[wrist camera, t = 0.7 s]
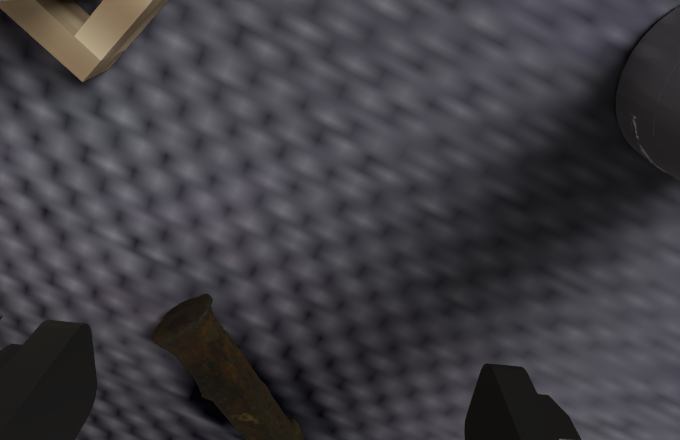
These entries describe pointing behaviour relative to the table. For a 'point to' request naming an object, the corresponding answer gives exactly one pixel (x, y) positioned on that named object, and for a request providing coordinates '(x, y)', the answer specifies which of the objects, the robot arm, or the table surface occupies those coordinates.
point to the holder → (83, 29)
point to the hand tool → (223, 371)
